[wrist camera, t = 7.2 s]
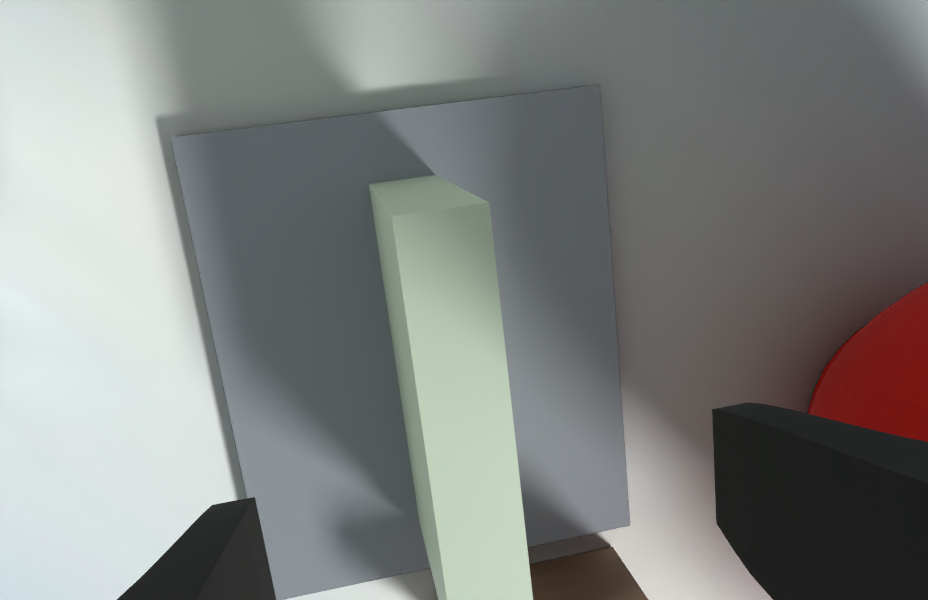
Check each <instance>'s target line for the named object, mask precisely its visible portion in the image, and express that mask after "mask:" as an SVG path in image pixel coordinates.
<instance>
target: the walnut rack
mask: <svg viewBox="0 0 928 600" xmlns="http://www.w3.org/2000/svg"><path fill="white" fill-rule="evenodd" d="M529 567H530V576H531V585H532V594H533V600H648V599H647V597H646V596H645V594H644V593H643V591H642V590H641V588H640V587H639V585H638V584H637V582H636V581H635V579H634V578H633V576H632V575H631V574H630V572H629V571H628V569H627V568H626V566H625V565H624V563H623V562H622V560H621V559H620V557H619V556H618V554H617V553H616V551H615V550H614V548H613V547H609V548H604V549H600V550H595V551H590V552H586V553H581V554H577V555H572V556H567V557H563V558H558V559H554V560H549V561H544V562H540V563H535V564H531V565H529Z"/></svg>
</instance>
